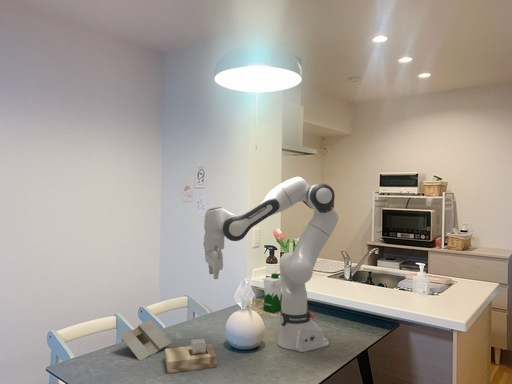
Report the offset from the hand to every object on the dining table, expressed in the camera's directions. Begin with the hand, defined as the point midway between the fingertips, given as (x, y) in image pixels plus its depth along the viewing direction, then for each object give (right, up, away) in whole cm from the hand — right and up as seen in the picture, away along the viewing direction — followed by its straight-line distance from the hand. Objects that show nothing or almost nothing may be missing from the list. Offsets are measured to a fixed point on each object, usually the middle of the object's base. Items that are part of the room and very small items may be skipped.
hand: (213, 276), depth 165 cm
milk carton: (+27, -30, +46) cm, 61 cm away
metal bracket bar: (-4, -29, -18) cm, 34 cm away
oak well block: (-7, -29, -19) cm, 35 cm away
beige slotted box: (-27, -29, -8) cm, 40 cm away
